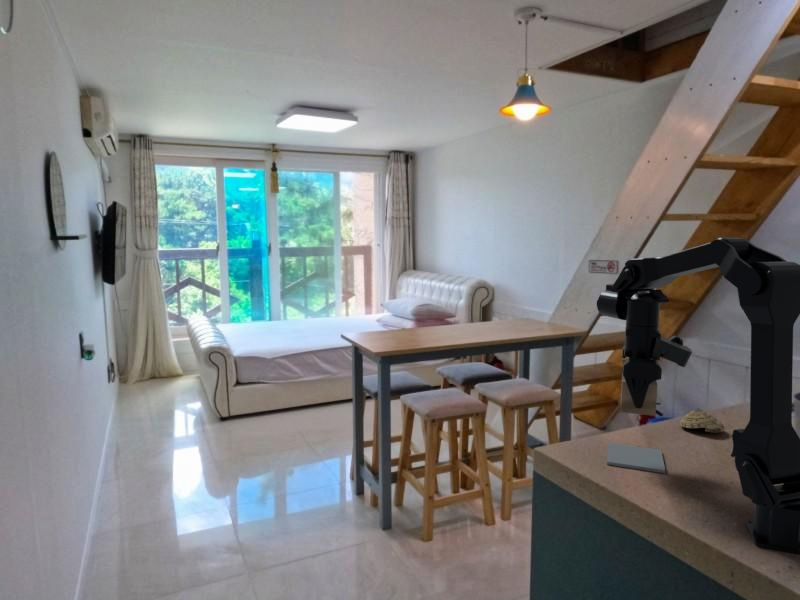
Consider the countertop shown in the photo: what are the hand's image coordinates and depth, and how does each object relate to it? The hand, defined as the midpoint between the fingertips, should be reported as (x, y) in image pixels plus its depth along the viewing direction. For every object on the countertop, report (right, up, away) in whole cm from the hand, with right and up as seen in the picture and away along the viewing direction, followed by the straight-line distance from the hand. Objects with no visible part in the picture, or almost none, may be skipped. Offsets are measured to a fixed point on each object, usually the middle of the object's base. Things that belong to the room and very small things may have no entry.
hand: (637, 403), depth 101 cm
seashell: (+25, -10, +14) cm, 30 cm away
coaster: (0, -11, +1) cm, 11 cm away
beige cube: (0, -1, 0) cm, 1 cm away
